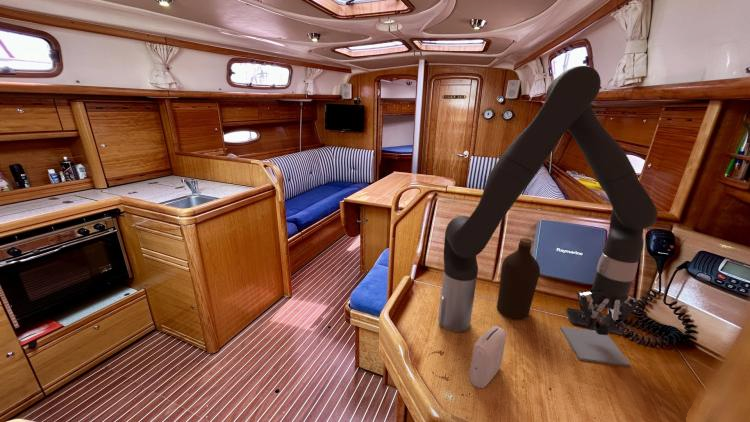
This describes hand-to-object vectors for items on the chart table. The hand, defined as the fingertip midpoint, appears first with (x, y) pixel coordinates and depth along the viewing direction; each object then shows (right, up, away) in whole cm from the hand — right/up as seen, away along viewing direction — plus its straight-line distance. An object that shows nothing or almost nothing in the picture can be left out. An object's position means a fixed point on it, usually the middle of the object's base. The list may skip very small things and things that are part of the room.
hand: (597, 327), depth 81 cm
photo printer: (-33, -9, -7) cm, 35 cm away
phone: (+8, -3, +11) cm, 14 cm away
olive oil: (-16, -1, +16) cm, 22 cm away
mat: (0, -6, +2) cm, 6 cm away
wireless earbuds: (0, 0, +2) cm, 2 cm away
